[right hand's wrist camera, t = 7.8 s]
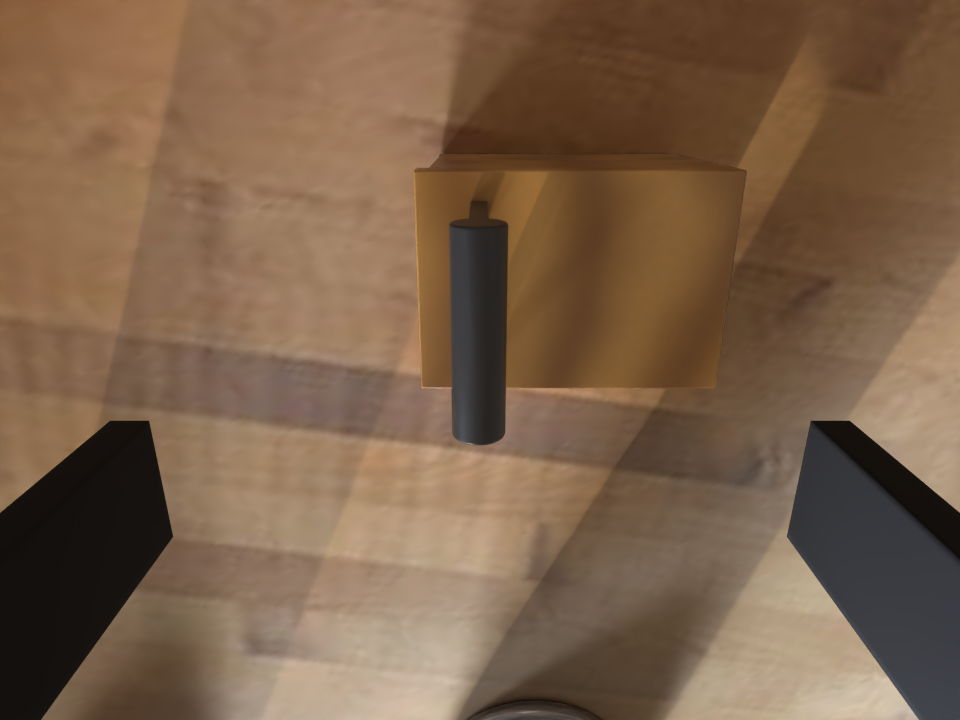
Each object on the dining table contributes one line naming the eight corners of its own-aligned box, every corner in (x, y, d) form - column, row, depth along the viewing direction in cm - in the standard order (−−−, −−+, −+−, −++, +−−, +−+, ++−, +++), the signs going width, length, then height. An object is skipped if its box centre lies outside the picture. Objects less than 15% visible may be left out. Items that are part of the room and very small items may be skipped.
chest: (444, 319, 38) (433, 379, 30) (440, 153, 35) (427, 167, 27) (657, 319, 38) (707, 379, 30) (674, 153, 35) (737, 167, 26)
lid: (423, 379, 30) (403, 472, 22) (415, 167, 26) (388, 191, 19) (707, 379, 30) (787, 473, 22) (737, 167, 26) (843, 191, 19)
